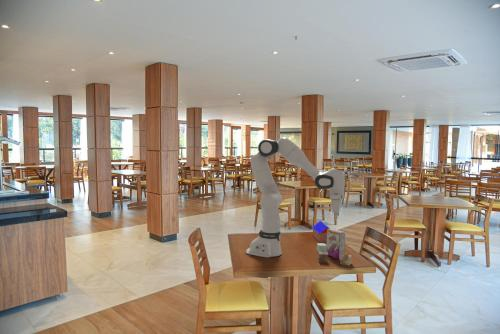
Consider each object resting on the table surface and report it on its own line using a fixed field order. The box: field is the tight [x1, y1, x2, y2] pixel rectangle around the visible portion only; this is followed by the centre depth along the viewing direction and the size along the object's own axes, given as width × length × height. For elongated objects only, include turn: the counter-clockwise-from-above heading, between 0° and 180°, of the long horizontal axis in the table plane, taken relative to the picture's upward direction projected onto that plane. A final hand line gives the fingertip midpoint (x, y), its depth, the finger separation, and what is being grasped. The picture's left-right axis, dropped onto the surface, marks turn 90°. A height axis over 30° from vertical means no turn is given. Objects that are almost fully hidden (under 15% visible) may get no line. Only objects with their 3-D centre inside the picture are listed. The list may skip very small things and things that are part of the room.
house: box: [312, 220, 331, 244], centre depth 251 cm, size 12×20×12 cm, turn 4°
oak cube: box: [339, 253, 353, 267], centre depth 198 cm, size 5×5×5 cm
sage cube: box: [316, 242, 327, 254], centre depth 220 cm, size 5×5×5 cm
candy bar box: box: [326, 228, 346, 261], centre depth 210 cm, size 11×5×16 cm, turn 31°
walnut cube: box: [318, 252, 329, 264], centre depth 202 cm, size 5×5×5 cm
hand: (336, 217), depth 209 cm, fingers open, 8 cm apart
